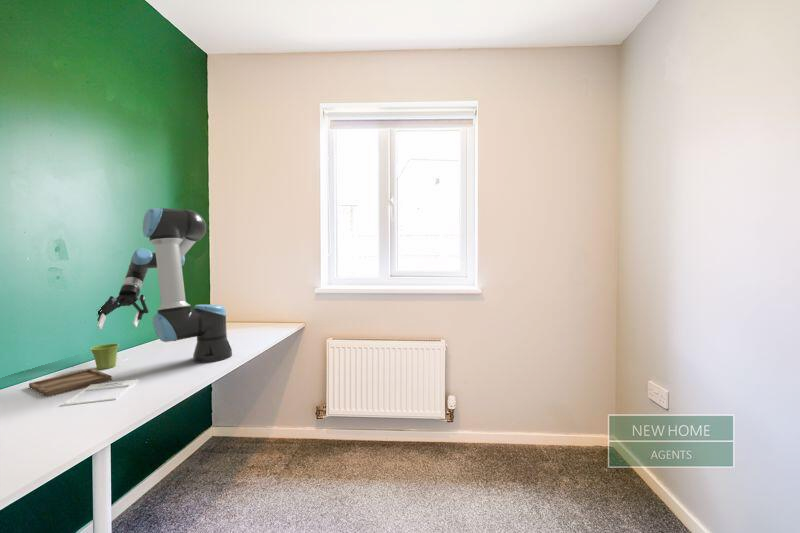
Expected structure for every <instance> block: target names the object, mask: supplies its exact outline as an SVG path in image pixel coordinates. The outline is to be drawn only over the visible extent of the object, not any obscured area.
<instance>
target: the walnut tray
mask: <svg viewBox="0 0 800 533" xmlns="http://www.w3.org/2000/svg"><path fill="white" fill-rule="evenodd" d="M112 379H113V378H112V375H110V374H108V373H105V372H102V371H99V370H96V369H94V368H89V369H84V370H80V371H76V372H72V373H67V374H63V375H60V376H59V375H58V376H55V377H54V376H53V377H50V378H46V379H41V380H38V381H33V382H30V383H28V387H30V388H29V389H31V388H32V389H33V391H34V390H35V392H36V391H37V393H38V392H39V394H40V393H41V394H40V395H42V394H43V395H42V396H44V395H45V396H44V397H46V396H47V397H46V398H49V397H48V396H50V397H53V396H52V395H54V396H56V394H58V395H60V393H61V394H64V392H65V393H68V391H69V392H73V391H77V390H79V389H85V388H87V386H90V385H92V384H98V383H99V384H101V383H102V382H103V383H107V382H110V381H112ZM109 380H110V381H109ZM32 389H31V390H32ZM72 390H73V391H72Z"/></svg>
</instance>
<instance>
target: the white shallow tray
mask: <svg viewBox="0 0 800 533" xmlns="http://www.w3.org/2000/svg"><path fill="white" fill-rule="evenodd" d="M139 381H140V380H139V379H132V380H131V379H129V380H122V381H109V382H103V383H99V384H92V385H90V386H88V387H84V388H83V389H82V390H81V391H79V392H77V394H74V395H73V396H71V397H70V398H69V399H67V400H65V401H63V403H61V404H60V407H65V405H67V406H74V405H82V404H91V403H92V404H93V403H98V402H99V403H101V402H110V401H116V400H118V399H119V398H120V397H121V396H122V395H124V394H125V393H126V392H127V391H129V390H130V389H131V388H132V387H133V386H134V385H136V384H137V383H138V382H139ZM136 382H137V383H136ZM135 383H136V384H135ZM127 386H128V387H127ZM118 387H119V388H125V389H123V390H122V391H121V392H119V394H117V395H115V396H114V397H110V398H109V397H108V398H102V399H101V398H100V399H93V400H92V399H91V400H84V401H76V402H72V401H73V400H74V399H75V398H78V397H79V396H80V395H82V394H83V393H85V392H90V391H99V390H108V389H116V388H118ZM129 388H130V389H129Z"/></svg>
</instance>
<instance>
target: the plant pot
mask: <svg viewBox="0 0 800 533" xmlns="http://www.w3.org/2000/svg"><path fill="white" fill-rule="evenodd" d="M119 346H120V344H119V343H108V344H102V345H96V346H92V347H91V348H90V349H89V351H91V353H92V354H93V360H94V362H95V366H96V369H97V370H104V369H111V368H114V367H116V365H117V358H118V357H117V355H118V349H119Z"/></svg>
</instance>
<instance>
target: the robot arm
mask: <svg viewBox="0 0 800 533" xmlns="http://www.w3.org/2000/svg"><path fill="white" fill-rule="evenodd" d="M206 232H207V223H206V221H205V219H204V218H203V216H201V214H199V213H198V212H197V211H194V210H190V209H182V208H181V209H178V208H165V207H158V208H157V207H156V208H155V207H153V208H152V207H151V208H149V209H148V210H146V212H145V214H144V217H143V220H142V233H143V236H144V237H146V238H148V239H149V243H151V244H152V245H153V246H154V251H155V252H152V251H151V250H149V248H148V249H146V248H137V249H136V250H134V252H133V253H132V256H131V257H130V258H131V259H130V263H129V266H128V269H127V273H126V275H125V277H124V280H123V282H122V285H121V287H120V291H119V292H118V296H117V297H116V296H115V297H114V296H112V295H111V296H109V298H108V299H107V300H106V301H105V302H104V303H105V304H104V303H103V304H104V305H103V304H102V305H103V306H102V305H101V306H102V307H101V306H100V307H101V309H100V310H99V311H98V315H99V316H98V315H97V322H98V323H97V325H96V327H97V328H98V329H99V330H102V329H103V326H104V323H106V322H105V321H106V319H107V315H109V314H111V313H112V312H113V311H114V310H116V309H119V308H121V307H130V306H131V305H132V306H133V307H134V308H135V309H136V310H137V311H136V313H135V316H134V319H133V322H132V325H133V327H134V328H138V324H139V322H140V321H141V320H142V319H143V316H144V314H148V313H149V308H148V305H147V304H146V297H145V296H144V294H140V293H141V290H142V286H143V283H144V281H145V278H146V276H147V274H148V270H149V269H157V270H156V271H157V278H158V285H159V286H158V288H159V296H160V303H161V304H160V306H159V307H158V308H157V313H155V314H154V315H153V316H152V325H153V330H154V333H155V334H156V337H157V338H158V339H159V340H160V342H164V343H169V342H177V341H179V340H180V341H181V340H186V339H192V338H196V343H195V344H196V345H195V348H194V351H193V357H192V358H193V362H196V363H211V362H218V361H222V360H223V361H224V360H226V359H229V358H230V357H232V356H233V350H232V347H231V345H230V342H229V340H228V335H227V314H226V308H225V306H223V305H219V304H195V305H194V308H193V309H192V307H191V304H189V303H188V302H187V300H186V292H185V284H184V276H183V268H182V267H184V265H185V261H186V258H185V255H186V254H187V252H188V251H190V249H191V248H192V247H193V245H194V244H195V243H196V242H199V241H200V240H202V239H203V237H204V236H205V235H206ZM138 300H139V301H140V303H141V306H142V308H143V309H142V308H141V307H140V306H139V305H138V304H137V303H136V302H137V301H138ZM101 310H102V311H101ZM100 311H101V312H100Z"/></svg>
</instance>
